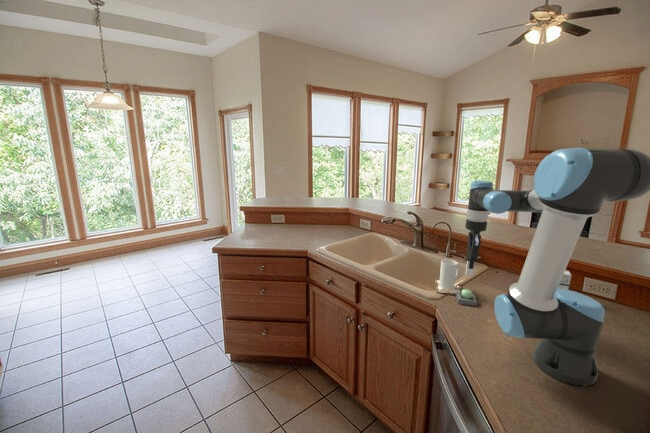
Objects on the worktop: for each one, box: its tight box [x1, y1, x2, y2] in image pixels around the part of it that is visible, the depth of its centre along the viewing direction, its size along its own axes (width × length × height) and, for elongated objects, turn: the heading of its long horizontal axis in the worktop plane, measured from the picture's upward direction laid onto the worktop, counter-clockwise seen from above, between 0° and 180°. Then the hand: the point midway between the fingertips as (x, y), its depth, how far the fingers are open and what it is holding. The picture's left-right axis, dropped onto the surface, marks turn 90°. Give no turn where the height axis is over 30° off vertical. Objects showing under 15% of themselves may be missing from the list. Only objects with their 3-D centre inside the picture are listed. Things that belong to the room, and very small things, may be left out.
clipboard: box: [434, 279, 463, 297], centre depth 139 cm, size 13×11×1 cm
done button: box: [461, 288, 473, 300], centre depth 127 cm, size 4×4×3 cm
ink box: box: [557, 269, 572, 290], centre depth 132 cm, size 9×5×12 cm, turn 62°
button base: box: [455, 291, 478, 307], centre depth 128 cm, size 7×7×2 cm
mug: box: [439, 258, 460, 289], centre depth 138 cm, size 10×7×12 cm, turn 114°
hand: (469, 274), depth 125 cm, fingers closed
